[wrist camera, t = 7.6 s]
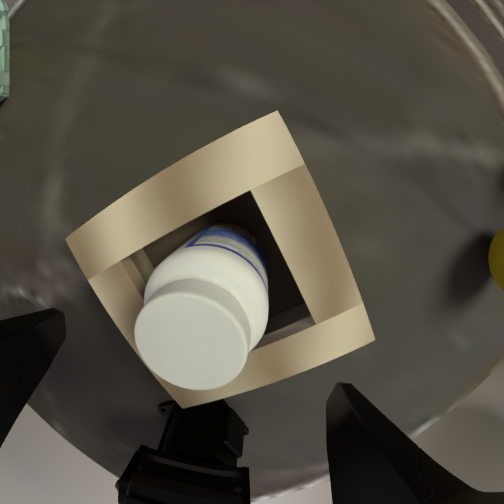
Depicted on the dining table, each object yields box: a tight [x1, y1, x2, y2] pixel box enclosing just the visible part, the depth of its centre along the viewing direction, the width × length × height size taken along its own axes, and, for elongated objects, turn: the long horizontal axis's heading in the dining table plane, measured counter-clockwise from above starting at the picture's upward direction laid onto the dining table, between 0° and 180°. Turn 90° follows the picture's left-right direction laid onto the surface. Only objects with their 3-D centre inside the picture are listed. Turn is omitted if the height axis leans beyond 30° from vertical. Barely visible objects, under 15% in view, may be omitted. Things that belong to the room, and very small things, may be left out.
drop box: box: [66, 111, 375, 409], centre depth 16 cm, size 12×12×6 cm
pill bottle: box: [134, 223, 269, 390], centre depth 14 cm, size 5×5×10 cm
